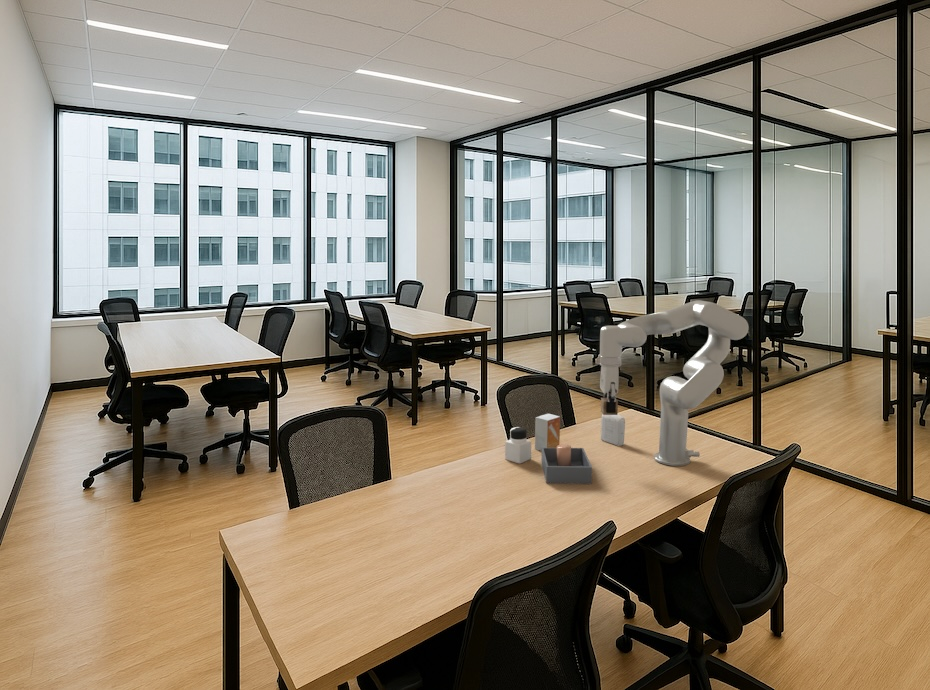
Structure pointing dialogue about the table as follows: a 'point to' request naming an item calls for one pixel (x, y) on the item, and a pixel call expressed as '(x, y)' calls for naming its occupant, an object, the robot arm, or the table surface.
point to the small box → (547, 431)
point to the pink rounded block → (563, 455)
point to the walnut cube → (603, 407)
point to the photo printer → (613, 429)
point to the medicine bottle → (518, 446)
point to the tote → (566, 467)
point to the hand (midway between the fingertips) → (609, 409)
